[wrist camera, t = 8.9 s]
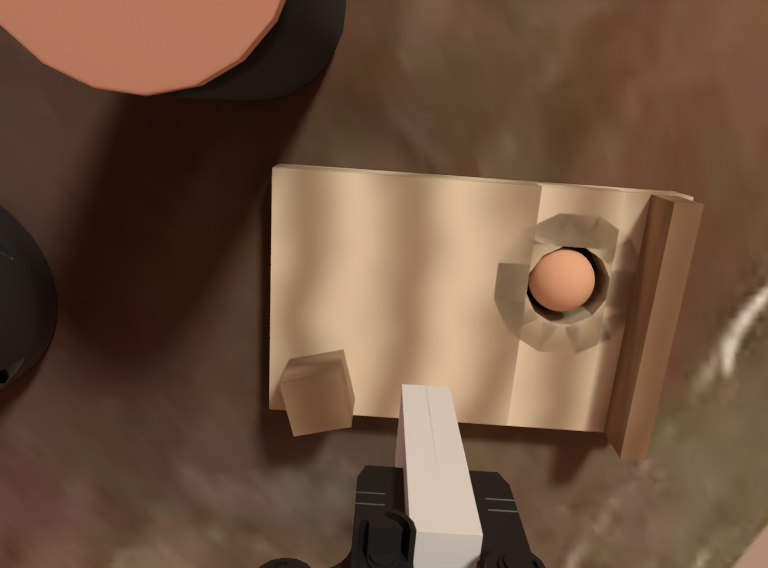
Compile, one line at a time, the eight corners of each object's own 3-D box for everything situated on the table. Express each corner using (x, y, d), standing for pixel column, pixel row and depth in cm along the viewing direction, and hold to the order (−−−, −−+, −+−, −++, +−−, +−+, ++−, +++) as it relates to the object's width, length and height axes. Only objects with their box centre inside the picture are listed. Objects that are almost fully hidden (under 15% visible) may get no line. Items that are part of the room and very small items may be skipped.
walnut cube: (302, 407, 39) (293, 436, 36) (289, 358, 38) (279, 383, 35) (355, 398, 39) (351, 427, 35) (343, 349, 38) (338, 373, 34)
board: (276, 391, 42) (259, 433, 36) (280, 163, 37) (261, 173, 32) (626, 416, 42) (660, 460, 36) (674, 191, 37) (720, 205, 32)
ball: (551, 304, 40) (512, 306, 37) (557, 245, 39) (518, 244, 37) (603, 315, 37) (565, 318, 34) (611, 251, 36) (572, 250, 34)
